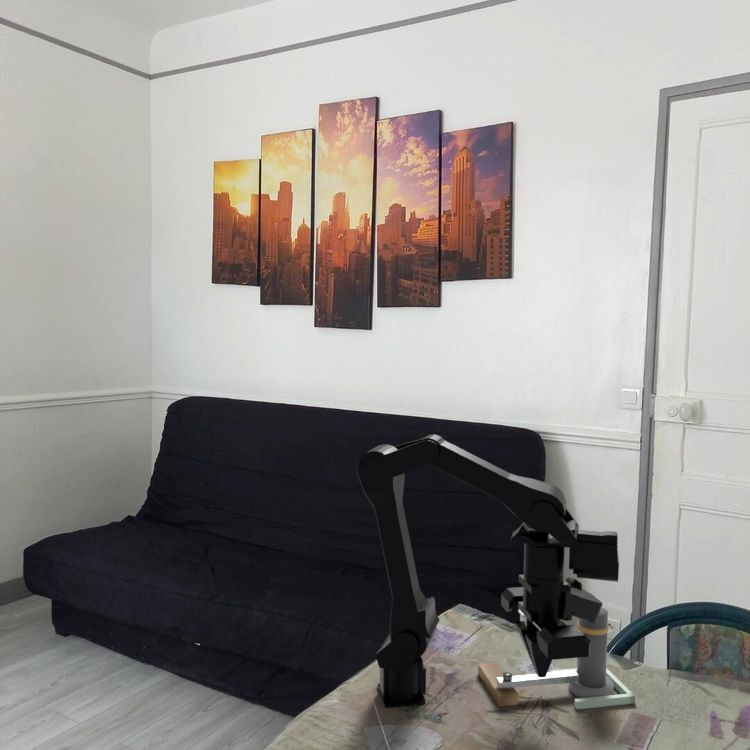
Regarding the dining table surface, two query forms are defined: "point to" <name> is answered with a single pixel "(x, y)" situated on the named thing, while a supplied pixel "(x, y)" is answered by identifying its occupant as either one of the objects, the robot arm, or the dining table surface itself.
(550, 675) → the lever
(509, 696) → the latch rail
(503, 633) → the dining table surface
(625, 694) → the pale green u-shaped bracket
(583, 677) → the plug
